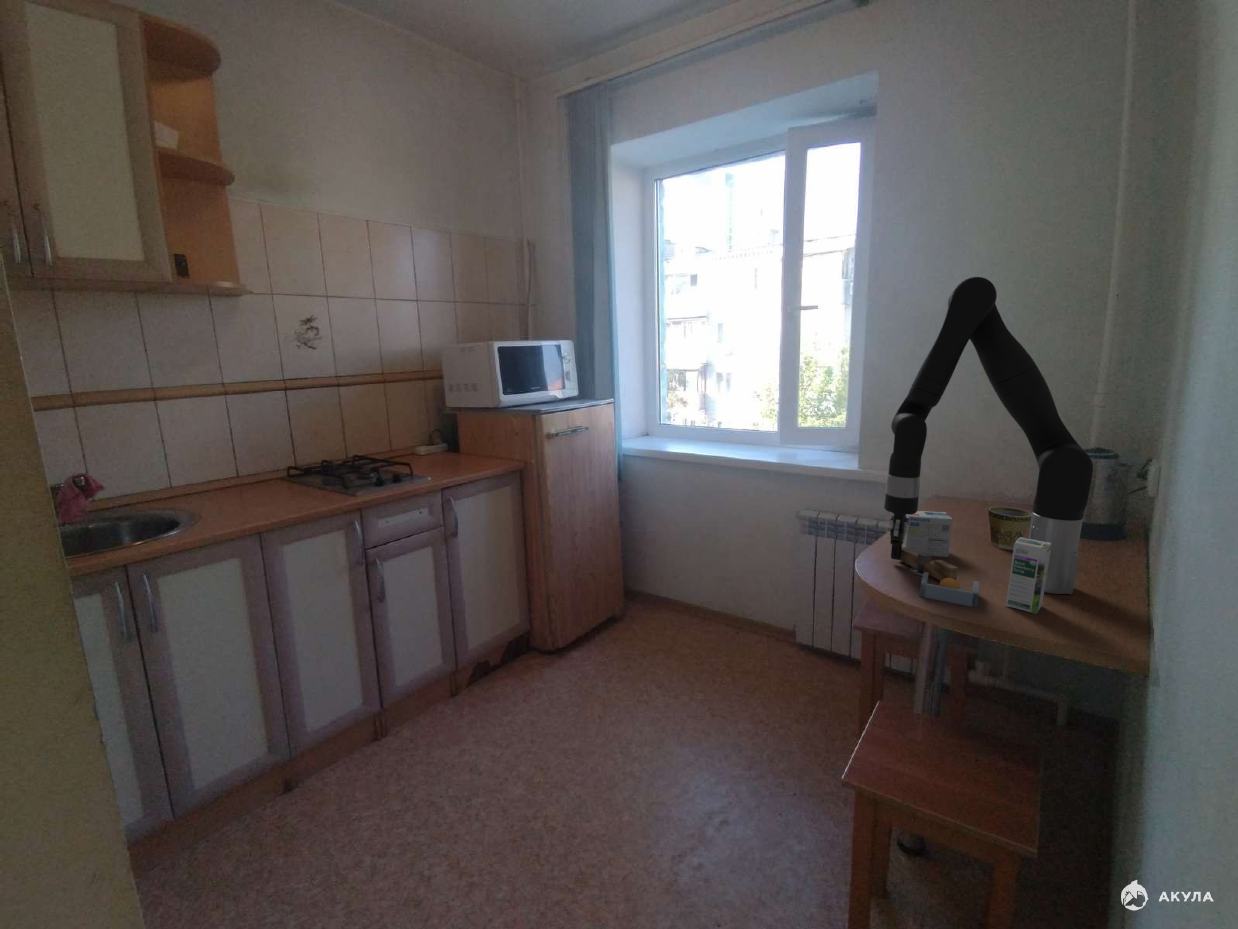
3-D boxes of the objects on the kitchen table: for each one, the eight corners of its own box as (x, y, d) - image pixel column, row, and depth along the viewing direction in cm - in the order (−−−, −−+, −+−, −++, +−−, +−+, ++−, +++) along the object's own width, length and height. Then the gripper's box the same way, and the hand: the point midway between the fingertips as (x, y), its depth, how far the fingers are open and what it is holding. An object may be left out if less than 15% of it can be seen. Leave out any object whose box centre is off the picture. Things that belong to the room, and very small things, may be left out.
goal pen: (977, 594, 130) (979, 581, 130) (977, 607, 124) (978, 594, 123) (922, 584, 136) (923, 571, 135) (919, 596, 129) (920, 583, 129)
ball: (954, 598, 127) (959, 599, 129) (959, 580, 127) (963, 581, 129) (934, 592, 129) (940, 593, 132) (939, 575, 129) (944, 576, 132)
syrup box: (1004, 606, 124) (1013, 542, 121) (1011, 598, 128) (1020, 535, 125) (1036, 615, 120) (1046, 548, 117) (1042, 606, 124) (1052, 541, 121)
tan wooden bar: (957, 583, 135) (959, 567, 134) (946, 585, 134) (948, 568, 133) (905, 557, 151) (906, 543, 150) (895, 559, 150) (896, 544, 149)
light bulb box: (942, 549, 159) (947, 511, 156) (949, 558, 152) (953, 518, 150) (899, 546, 161) (903, 508, 159) (904, 554, 155) (908, 515, 153)
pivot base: (937, 570, 144) (937, 569, 144) (936, 578, 139) (936, 577, 139) (910, 565, 147) (910, 564, 147) (908, 573, 142) (908, 572, 142)
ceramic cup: (1025, 555, 154) (1031, 518, 152) (982, 547, 160) (986, 512, 158) (1028, 541, 164) (1033, 507, 162) (987, 535, 170) (991, 502, 168)
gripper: (916, 500, 137) (909, 570, 141) (921, 489, 148) (914, 553, 152) (882, 496, 141) (875, 564, 144) (889, 485, 152) (883, 548, 155)
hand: (895, 558), depth 148 cm, fingers closed
